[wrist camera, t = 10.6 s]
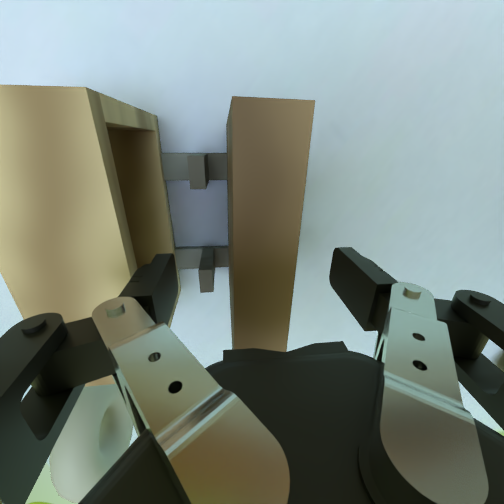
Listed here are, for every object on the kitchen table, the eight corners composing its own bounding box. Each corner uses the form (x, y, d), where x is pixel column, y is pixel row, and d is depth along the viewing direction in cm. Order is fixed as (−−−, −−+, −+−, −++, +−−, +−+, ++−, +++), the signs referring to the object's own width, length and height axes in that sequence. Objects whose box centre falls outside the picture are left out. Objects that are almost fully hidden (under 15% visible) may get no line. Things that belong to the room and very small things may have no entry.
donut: (87, 355, 26) (14, 470, 17) (119, 350, 26) (65, 460, 17) (118, 412, 30) (73, 528, 21) (146, 407, 30) (113, 520, 21)
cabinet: (284, 118, 18) (343, 94, 9) (275, 284, 25) (305, 366, 16) (75, 114, 17) (-94, 82, 8) (122, 292, 23) (58, 389, 14)
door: (277, 126, 18) (358, 102, 7) (268, 274, 24) (307, 386, 13) (226, 124, 18) (232, 96, 7) (228, 276, 23) (234, 393, 12)
